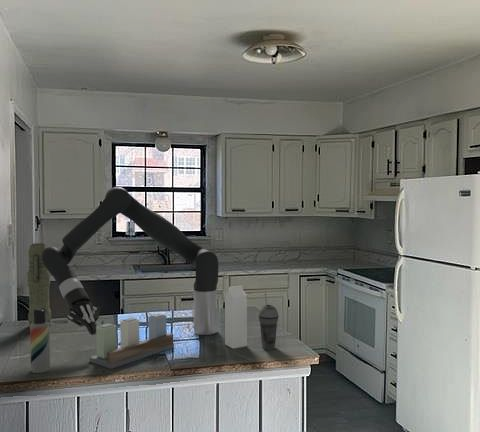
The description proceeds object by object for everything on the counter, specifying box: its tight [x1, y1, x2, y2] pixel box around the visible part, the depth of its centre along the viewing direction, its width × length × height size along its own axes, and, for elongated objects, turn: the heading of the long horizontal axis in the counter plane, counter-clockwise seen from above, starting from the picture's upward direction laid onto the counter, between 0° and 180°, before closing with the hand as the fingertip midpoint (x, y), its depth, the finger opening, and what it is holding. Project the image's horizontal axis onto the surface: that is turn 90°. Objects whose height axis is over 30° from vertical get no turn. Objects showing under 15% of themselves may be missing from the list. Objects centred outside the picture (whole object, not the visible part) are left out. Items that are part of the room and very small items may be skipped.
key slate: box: [148, 313, 168, 340], centre depth 184 cm, size 4×5×10 cm
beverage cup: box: [258, 292, 279, 350], centre depth 184 cm, size 7×7×20 cm
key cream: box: [119, 317, 140, 348], centre depth 178 cm, size 4×5×10 cm
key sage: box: [95, 323, 117, 359], centre depth 170 cm, size 4×5×10 cm
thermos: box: [27, 242, 52, 329], centre depth 214 cm, size 9×12×35 cm
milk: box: [224, 285, 248, 349], centre depth 187 cm, size 6×6×22 cm
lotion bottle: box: [29, 308, 51, 374], centre depth 161 cm, size 6×6×20 cm
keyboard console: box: [88, 332, 175, 370], centre depth 177 cm, size 12×28×5 cm, turn 142°
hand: (95, 333), depth 174 cm, fingers closed
